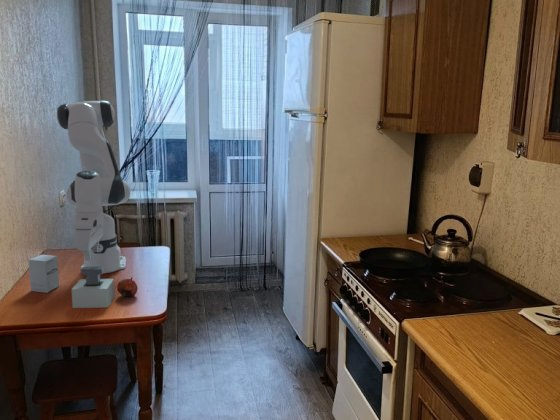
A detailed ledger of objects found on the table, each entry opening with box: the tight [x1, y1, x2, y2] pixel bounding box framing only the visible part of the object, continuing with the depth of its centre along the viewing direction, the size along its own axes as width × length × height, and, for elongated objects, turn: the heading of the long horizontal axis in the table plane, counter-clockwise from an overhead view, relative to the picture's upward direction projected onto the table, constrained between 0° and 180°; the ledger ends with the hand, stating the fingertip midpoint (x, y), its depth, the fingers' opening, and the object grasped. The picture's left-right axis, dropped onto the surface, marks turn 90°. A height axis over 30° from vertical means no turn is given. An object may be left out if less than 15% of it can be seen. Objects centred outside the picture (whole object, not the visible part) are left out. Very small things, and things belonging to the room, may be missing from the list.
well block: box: [71, 278, 116, 309], centre depth 169 cm, size 10×12×7 cm
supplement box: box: [28, 254, 60, 293], centre depth 180 cm, size 7×7×13 cm
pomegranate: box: [116, 277, 138, 301], centre depth 175 cm, size 7×7×10 cm
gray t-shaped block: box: [80, 267, 105, 287], centre depth 169 cm, size 3×7×12 cm, turn 97°
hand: (91, 255), depth 167 cm, fingers open, 8 cm apart
